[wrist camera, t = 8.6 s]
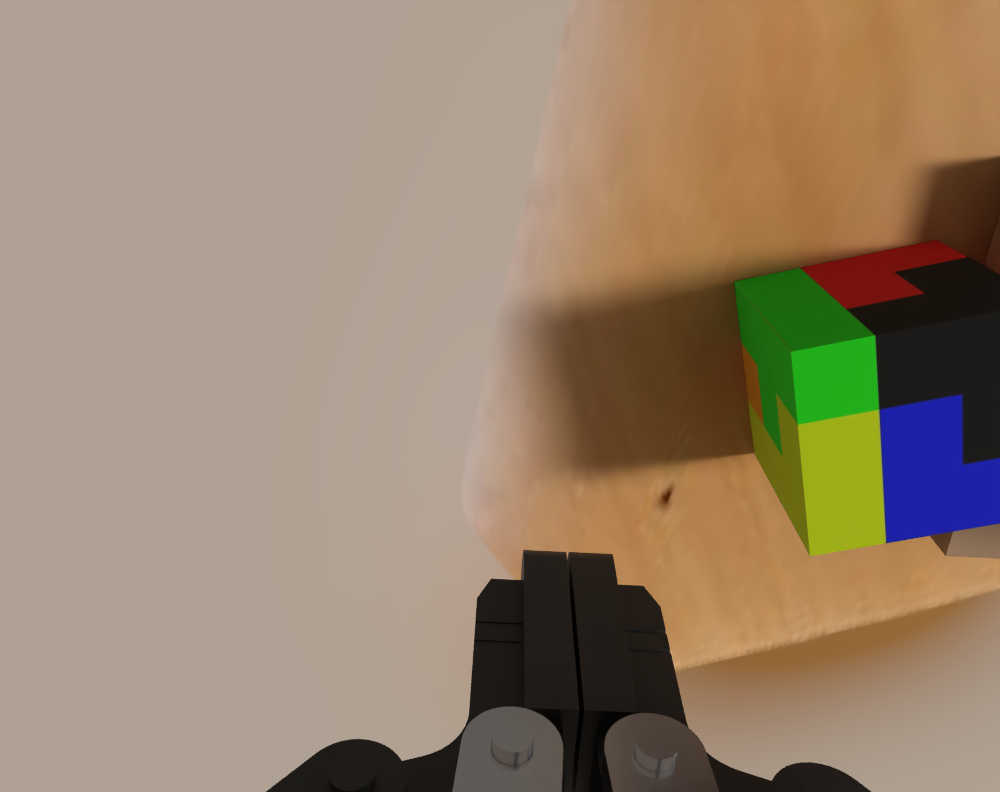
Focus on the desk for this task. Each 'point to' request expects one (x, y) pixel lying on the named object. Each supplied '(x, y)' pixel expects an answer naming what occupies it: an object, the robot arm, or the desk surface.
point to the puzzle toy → (876, 394)
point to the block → (987, 538)
